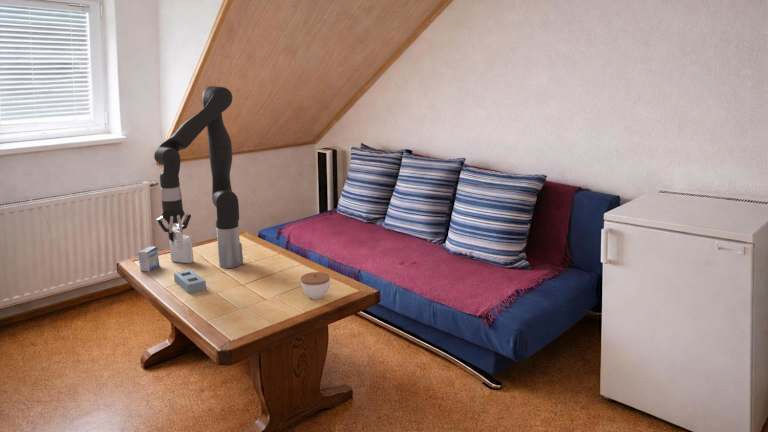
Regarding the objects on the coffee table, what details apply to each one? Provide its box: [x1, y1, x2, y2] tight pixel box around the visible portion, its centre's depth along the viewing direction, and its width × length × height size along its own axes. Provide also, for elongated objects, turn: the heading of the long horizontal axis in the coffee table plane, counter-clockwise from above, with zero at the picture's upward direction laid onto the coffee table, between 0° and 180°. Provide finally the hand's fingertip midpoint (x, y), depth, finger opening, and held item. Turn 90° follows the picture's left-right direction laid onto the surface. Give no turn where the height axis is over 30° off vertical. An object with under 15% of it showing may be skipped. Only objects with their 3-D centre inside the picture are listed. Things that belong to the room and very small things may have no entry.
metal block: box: [170, 225, 184, 250], centre depth 249 cm, size 2×10×7 cm, turn 35°
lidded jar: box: [300, 271, 331, 300], centre depth 236 cm, size 11×11×9 cm
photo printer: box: [168, 234, 195, 264], centre depth 274 cm, size 10×4×12 cm, turn 69°
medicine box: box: [137, 246, 160, 273], centre depth 266 cm, size 8×4×9 cm, turn 168°
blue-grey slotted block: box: [173, 268, 207, 294], centre depth 248 cm, size 7×16×4 cm, turn 36°
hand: (176, 240), depth 249 cm, fingers closed on metal block, 2 cm apart
